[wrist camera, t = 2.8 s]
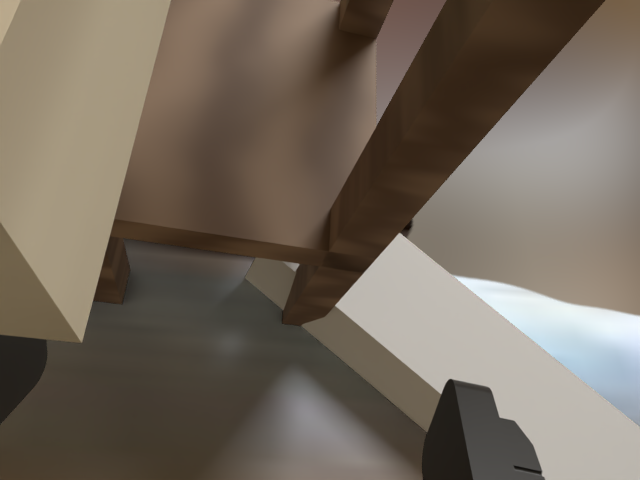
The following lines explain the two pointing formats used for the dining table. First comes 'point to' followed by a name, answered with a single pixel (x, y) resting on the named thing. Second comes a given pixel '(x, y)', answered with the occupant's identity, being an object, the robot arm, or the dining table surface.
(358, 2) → the walnut rack
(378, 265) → the decorative molding
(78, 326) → the birch slat
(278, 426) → the dining table surface
